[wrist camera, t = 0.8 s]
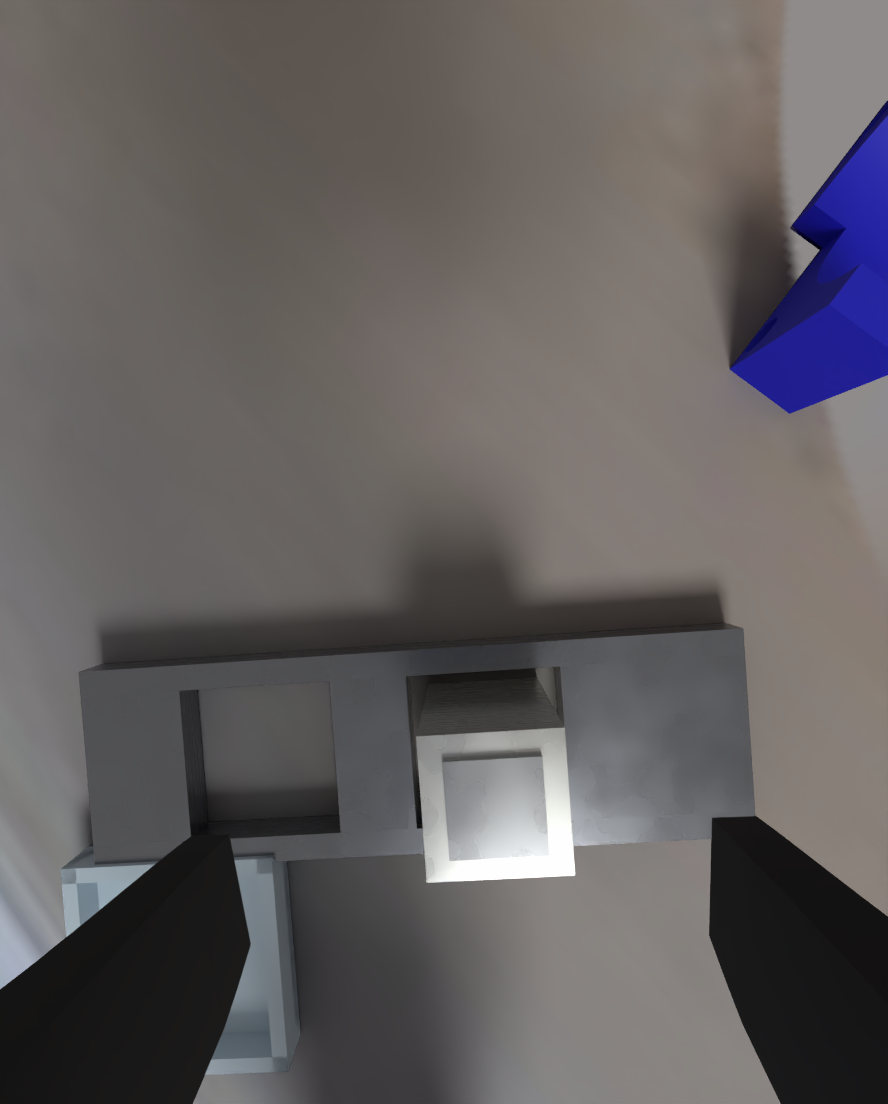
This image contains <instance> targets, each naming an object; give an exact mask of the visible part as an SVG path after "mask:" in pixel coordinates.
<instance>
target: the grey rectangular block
mask: <svg viewBox="0 0 888 1104" xmlns="http://www.w3.org/2000/svg"><path fill="white" fill-rule="evenodd" d="M416 742H417V756H418V770H419V783H420V797H421V810H422V824H423V837H424V851H425V864H426V878H427V883H432V882H452V881H472V880H492V879H511V878H531V877H551V876H571V875H575V867H574V853H573V839H572V824H571V810H570V796H569V781H568V767H567V752H566V738H565V727H564V725H563V724H562V722H561V720H560V718H559V716H558V715H557V713H556V711H555V709H554V707H553V706H552V704H551V702H550V700H549V698H548V697H547V695H546V693H545V691H544V689H543V688H542V686H541V684H540V682H539V680H538V679H537V677H535V678H520V679H504V680H488V681H472V682H456V683H441V684H428V688H427V692H426V697H425V701H424V705H423V709H422V713H421V718H420V722H419V726H418V730H417V735H416Z"/></svg>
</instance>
